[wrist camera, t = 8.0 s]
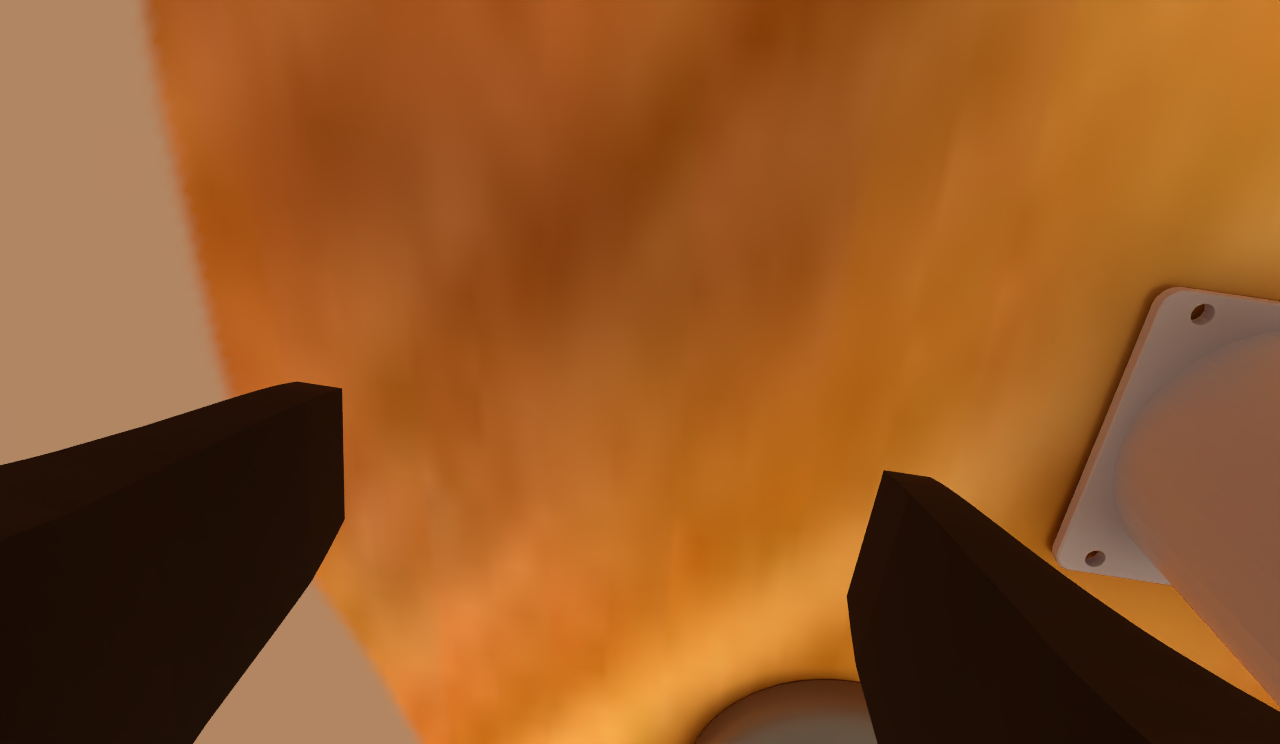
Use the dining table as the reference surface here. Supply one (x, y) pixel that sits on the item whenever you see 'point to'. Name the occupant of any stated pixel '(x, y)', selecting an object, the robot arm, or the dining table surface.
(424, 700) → the dining table surface
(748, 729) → the slate trivet
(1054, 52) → the dining table surface
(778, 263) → the dining table surface
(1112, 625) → the robot arm
